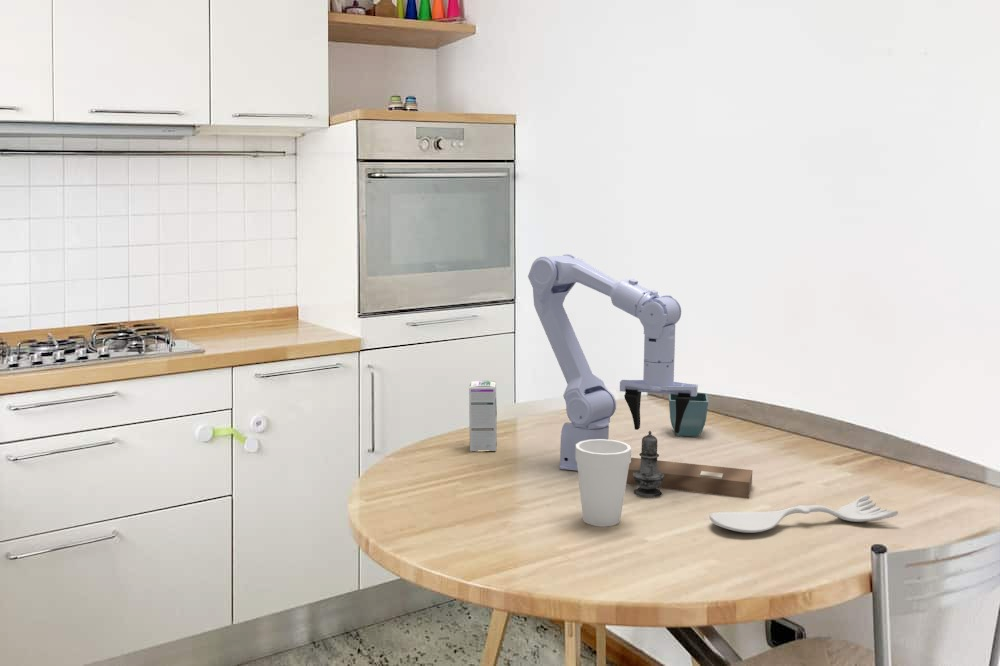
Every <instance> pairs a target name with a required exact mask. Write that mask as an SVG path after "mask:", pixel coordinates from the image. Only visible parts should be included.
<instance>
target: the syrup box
mask: <svg viewBox="0 0 1000 666" xmlns="http://www.w3.org/2000/svg"><path fill="white" fill-rule="evenodd" d="M468 395H469V398H468V401H469V403H468V405H469V411H468V412H469V415H468V416H469V451H470V452H472V451H478V450H489V451H496V452H497V446H498V445H497V443H498V442H497V441H498V437H497V436H498V435H497V434H498V433H497V431H498V430H497V429H498V428H497V426H498V425H497V423H498V422H497V421H498V419H497V417H498V415H497V414H498V413H497V408H498V407H497V382H496V381H494V380H474V381H472V380H471V381H470V384H469V387H468Z"/></svg>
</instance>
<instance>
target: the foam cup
mask: <svg viewBox="0 0 1000 666" xmlns="http://www.w3.org/2000/svg"><path fill="white" fill-rule="evenodd" d="M631 447H632V446H631V445H630V444H628V443H626V442H625V441H621V440H620V441H619V440H615V439H608V440H606V439H592V440H585V441H581V442H579V443H577V444H576V454H575V458H576V462H577V467H578V471H577V474H578V475H577V476H578V485H579V493H580V504H581V511H582V513H581V514H582V520H583V522H584V523H586V524H587V525H590V526H594V527H601V528H602V527H613V526H617V525H618V524H619V523H620V519H621V516H622V511H623V505H624V499H625V498H624V497H625V492H626V486H627V484H626V482H627V475H628V469H629V463H631V458H632V448H631Z"/></svg>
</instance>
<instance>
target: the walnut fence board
mask: <svg viewBox="0 0 1000 666" xmlns="http://www.w3.org/2000/svg"><path fill="white" fill-rule="evenodd" d="M640 465H641V457H640V458H638V457H631V463H629V469H628V475H627V482H626V485H629V486H630V485H631V486H638V485H637V484H636V483H635V480H634V476H633V472H635V471H638V470H639V469H640ZM657 469H658V471H659V472H661V473H663V474H664V478H663V481H662V483H661V485H660V486H659V487H658V488H657V489H665V490H675V491H683V492H691V493H692V492H693V493H699V494H701V493H702V494H710V495H718V496H726V497H727V496H728V497H736V498H744V499H749V497H750V493H751V489H752V486H753V485H752V484H753V470H752V469H743V468H734V467H727V466H726V467H724V466H714V465H705V464H696V463H687V462H677V461H668V460H658V459H657ZM638 487H639V486H638Z"/></svg>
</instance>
